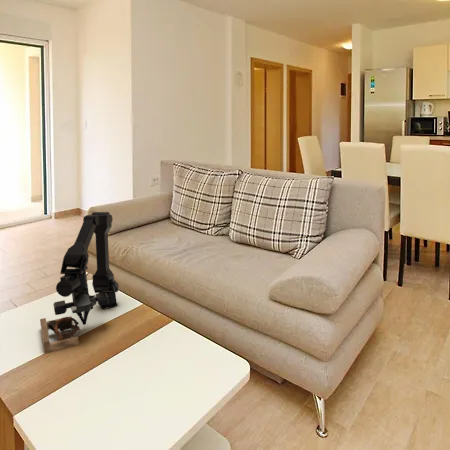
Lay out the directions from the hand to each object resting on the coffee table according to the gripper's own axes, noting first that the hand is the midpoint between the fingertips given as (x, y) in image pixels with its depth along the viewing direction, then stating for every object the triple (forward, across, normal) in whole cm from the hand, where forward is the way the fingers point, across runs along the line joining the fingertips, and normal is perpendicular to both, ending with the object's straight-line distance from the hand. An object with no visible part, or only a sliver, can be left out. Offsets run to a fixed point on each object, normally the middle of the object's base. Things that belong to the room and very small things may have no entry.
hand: (84, 324), depth 155 cm
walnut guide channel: (+2, -8, 0) cm, 8 cm away
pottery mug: (+3, -7, -1) cm, 8 cm away
